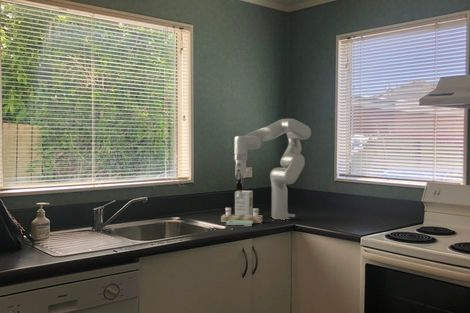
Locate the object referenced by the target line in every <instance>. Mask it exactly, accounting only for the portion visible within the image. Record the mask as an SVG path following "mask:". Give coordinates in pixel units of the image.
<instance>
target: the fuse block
mask: <svg viewBox="0 0 470 313" xmlns="http://www.w3.org/2000/svg"><path fill="white" fill-rule="evenodd" d="M263 218H264V217H263V215H259V214H258V217H253V215H235V214H231V216H226V214H222V215H221V217H220V223H221V222H227V221H228V220H243V221H253V223H261V222H262V223H263V220H264V219H263ZM262 223H261V224H262Z"/></svg>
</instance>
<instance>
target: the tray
mask: <svg viewBox="0 0 470 313" xmlns="http://www.w3.org/2000/svg"><path fill="white" fill-rule="evenodd" d="M252 224H253V221H243V220H228V221H227V222H226V223H225V226H226V225H244V226H243V227H249V226H251V227H252V226H253V225H254V224H253V225H252Z"/></svg>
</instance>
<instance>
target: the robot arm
mask: <svg viewBox="0 0 470 313" xmlns="http://www.w3.org/2000/svg"><path fill="white" fill-rule="evenodd" d="M284 134H286V136H287V140H288V145H287V148H286V150H285V151H284V153H283V154H282V156H281V158H280V161H279V163H280V166H281V167H274V168H273V169H272V170H271V171H270V173H269V179H270V183H271V217H272V218H274V219H281V220H282V219H283V220H285V219H290V220H291V218H295V217H296V214H295V213H294V214H293V213H289V212H288V194H289V192H288V187H287V185H292V184H294V183H295V182H297V180H298V178H299V176H300V175H301V172H302V171H303V169H304V167H305V163H306V162H305V157H304V156H303V155H302V153H301V152H302V144H301V143H302V142H301V141H300V140H303V141H304V140H308V139H309V138H310V137H311V135H312V131H311V128H310V127H309V125H306V124H305V123H303V122H301V121H299V120H297V119H295V118H281V119H279V120H276V121H275V122H273V123H270V124H269V125H267V126H265V127H262V128H258V129H256V130H254V131H251V132H249V133H247V134H245V135H236V136H235V137H234V138H233V139H234V141H233V143H234V144H233V148H234V149H233V160H234V161H235V168H234V169H235V172H234V174H235V178H236V191H243V190H242V188H243V189H244V186H243V187H242V183H243V184H244V179H245V178H246V177H247V162H246V161H248V150H256V149H257V150H258V149H259V148H260V147H261V146H262V142H269V141H273V140H274V139H276V138H278V137H280V136H282V135H284Z"/></svg>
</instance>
